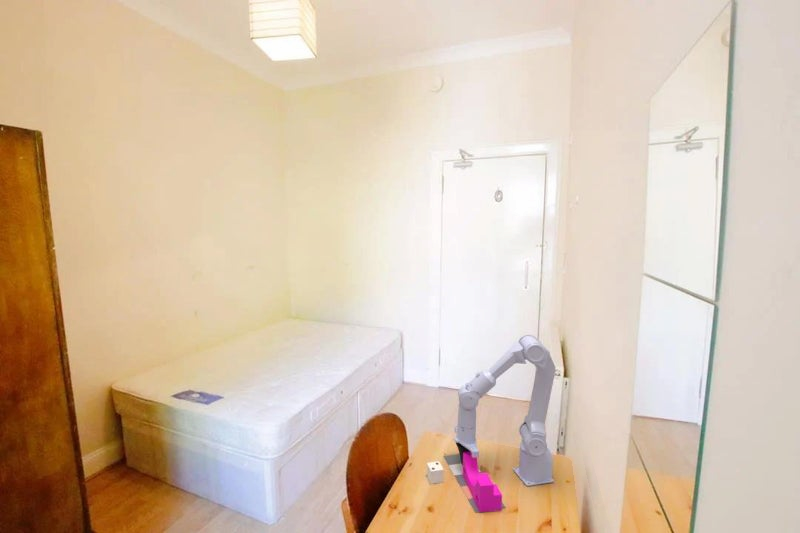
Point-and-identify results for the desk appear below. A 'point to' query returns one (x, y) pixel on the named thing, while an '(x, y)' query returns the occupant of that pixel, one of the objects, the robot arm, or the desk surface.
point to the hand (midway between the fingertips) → (465, 465)
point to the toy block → (481, 485)
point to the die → (435, 472)
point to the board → (461, 477)
